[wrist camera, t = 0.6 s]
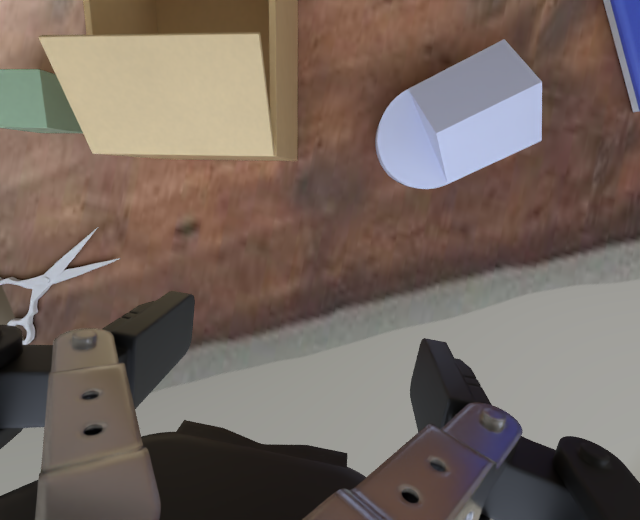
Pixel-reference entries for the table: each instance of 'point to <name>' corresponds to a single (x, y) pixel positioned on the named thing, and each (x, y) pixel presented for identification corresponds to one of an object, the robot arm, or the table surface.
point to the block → (34, 102)
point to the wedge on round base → (461, 119)
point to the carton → (221, 17)
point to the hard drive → (627, 43)
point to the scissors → (49, 284)
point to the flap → (166, 92)
